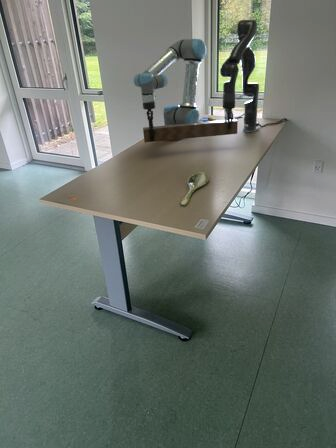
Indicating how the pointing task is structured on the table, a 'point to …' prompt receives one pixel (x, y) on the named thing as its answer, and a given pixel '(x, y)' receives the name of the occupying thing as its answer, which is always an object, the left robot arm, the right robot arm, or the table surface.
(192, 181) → the spoon
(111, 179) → the table surface
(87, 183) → the table surface
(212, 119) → the spray gun
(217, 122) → the block
